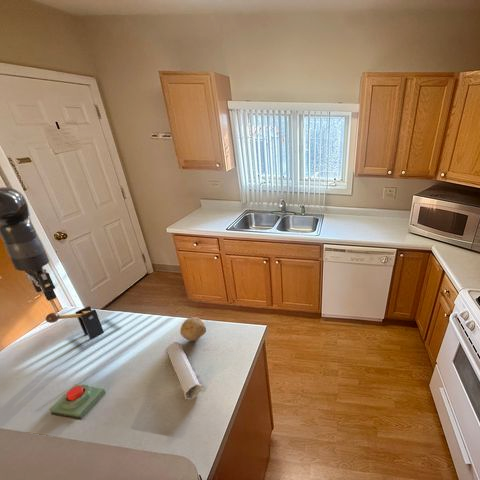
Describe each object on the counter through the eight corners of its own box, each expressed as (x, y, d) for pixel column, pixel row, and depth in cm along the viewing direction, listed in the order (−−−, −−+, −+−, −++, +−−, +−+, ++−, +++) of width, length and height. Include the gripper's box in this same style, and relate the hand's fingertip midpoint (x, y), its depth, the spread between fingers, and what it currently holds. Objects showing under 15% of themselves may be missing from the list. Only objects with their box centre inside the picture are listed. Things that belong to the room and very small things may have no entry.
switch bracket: (83, 351, 96) (72, 325, 91) (70, 341, 100) (59, 315, 95) (118, 331, 106) (110, 306, 101) (105, 323, 110) (96, 298, 105)
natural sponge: (178, 338, 104) (174, 318, 100) (200, 327, 110) (196, 308, 106) (187, 350, 99) (183, 330, 95) (209, 338, 105) (206, 319, 101)
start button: (64, 400, 76) (62, 396, 75) (76, 388, 79) (74, 385, 78) (75, 401, 75) (73, 398, 75) (87, 390, 79) (85, 386, 78)
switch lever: (46, 324, 87) (50, 315, 87) (42, 321, 88) (45, 311, 89) (92, 320, 99) (94, 311, 99) (87, 317, 100) (90, 308, 101)
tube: (161, 346, 95) (181, 395, 78) (175, 336, 98) (197, 381, 81) (169, 353, 98) (189, 402, 81) (182, 344, 101) (205, 389, 84)
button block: (51, 413, 75) (46, 404, 74) (78, 388, 83) (74, 380, 81) (81, 419, 74) (77, 410, 73) (106, 393, 82) (102, 384, 80)
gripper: (1, 251, 80) (22, 293, 86) (18, 263, 74) (39, 308, 80) (34, 243, 86) (52, 283, 92) (52, 253, 80) (70, 296, 86)
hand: (46, 295), depth 86 cm, fingers open, 8 cm apart
